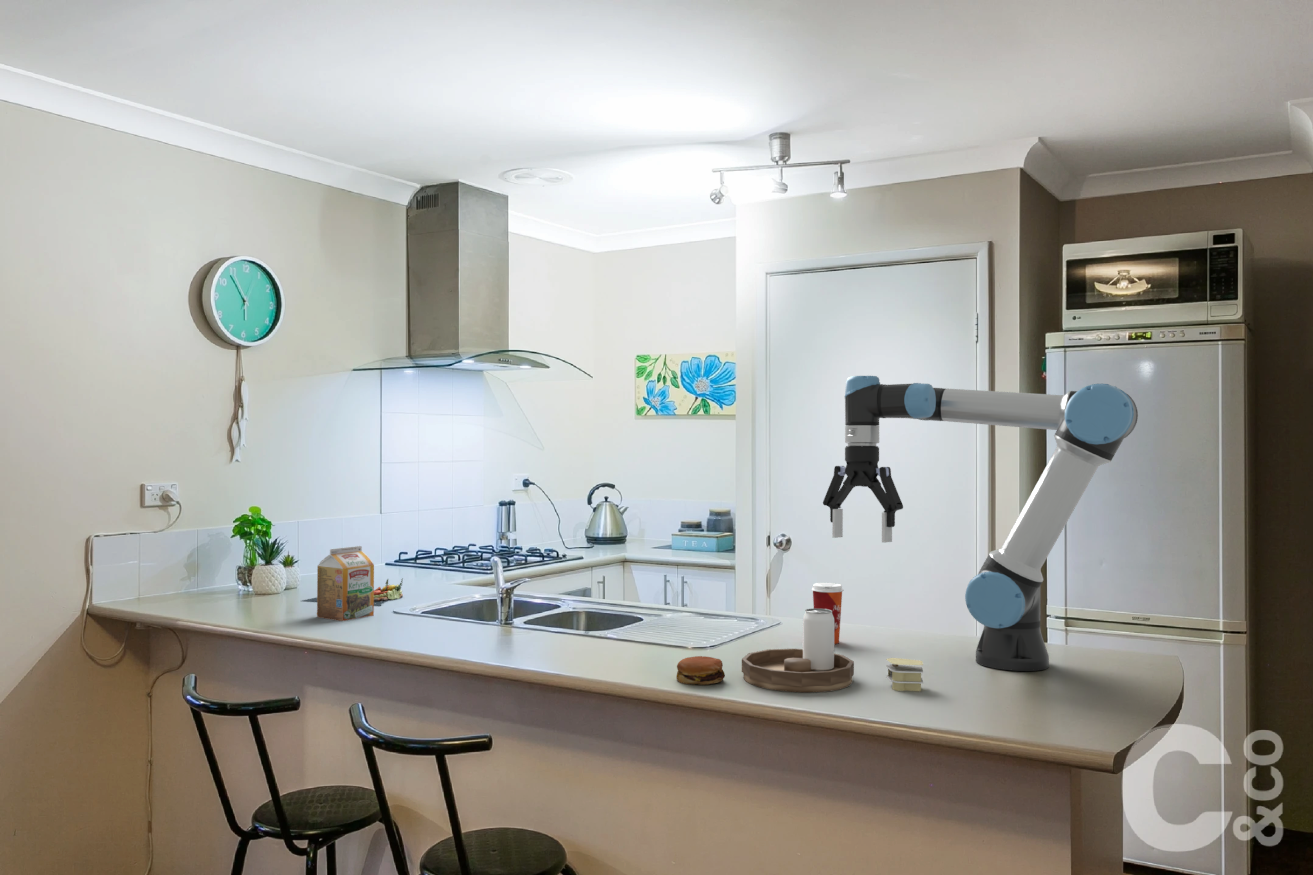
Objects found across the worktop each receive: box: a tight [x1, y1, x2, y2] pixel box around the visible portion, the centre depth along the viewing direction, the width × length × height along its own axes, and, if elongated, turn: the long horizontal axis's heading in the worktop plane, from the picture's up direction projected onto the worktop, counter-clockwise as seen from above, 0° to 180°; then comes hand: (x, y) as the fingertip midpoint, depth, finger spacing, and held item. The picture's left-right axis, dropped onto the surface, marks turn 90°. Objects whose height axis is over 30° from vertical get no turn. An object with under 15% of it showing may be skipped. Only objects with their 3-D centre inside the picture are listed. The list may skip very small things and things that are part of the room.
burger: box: [676, 655, 726, 686], centre depth 195 cm, size 10×10×5 cm
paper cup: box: [811, 582, 844, 645], centre depth 234 cm, size 8×8×14 cm
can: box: [802, 607, 835, 671], centre depth 201 cm, size 6×6×12 cm
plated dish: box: [301, 577, 404, 607], centre depth 297 cm, size 35×28×7 cm
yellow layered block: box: [885, 657, 924, 692], centre depth 190 cm, size 10×9×6 cm
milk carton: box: [316, 545, 375, 622], centre depth 266 cm, size 11×11×19 cm
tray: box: [741, 648, 855, 693], centre depth 197 cm, size 22×22×4 cm
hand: (861, 539), depth 216 cm, fingers open, 13 cm apart
